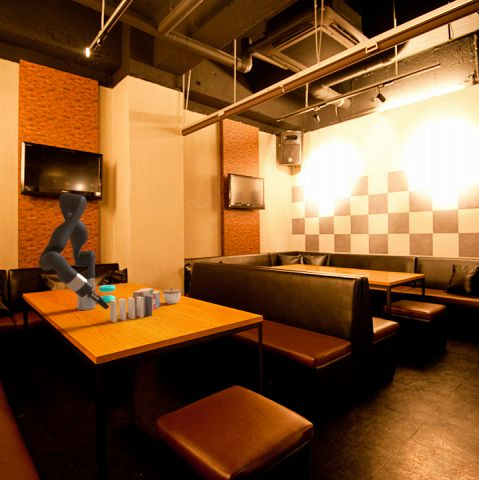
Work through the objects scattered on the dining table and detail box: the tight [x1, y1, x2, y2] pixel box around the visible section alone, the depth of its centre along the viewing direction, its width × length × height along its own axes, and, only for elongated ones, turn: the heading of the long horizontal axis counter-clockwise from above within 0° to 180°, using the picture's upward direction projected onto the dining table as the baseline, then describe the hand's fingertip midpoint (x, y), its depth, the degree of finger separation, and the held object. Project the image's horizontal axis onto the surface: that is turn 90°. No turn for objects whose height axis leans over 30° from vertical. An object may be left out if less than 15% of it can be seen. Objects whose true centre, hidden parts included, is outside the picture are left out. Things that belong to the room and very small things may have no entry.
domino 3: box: [127, 297, 136, 320], centre depth 166 cm, size 5×2×10 cm, turn 39°
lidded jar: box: [162, 287, 181, 305], centre depth 205 cm, size 11×11×9 cm
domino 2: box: [118, 298, 127, 322], centre depth 163 cm, size 5×2×10 cm, turn 39°
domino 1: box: [109, 299, 118, 323], centre depth 160 cm, size 5×2×10 cm, turn 39°
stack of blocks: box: [132, 287, 161, 316], centre depth 183 cm, size 21×6×12 cm, turn 171°
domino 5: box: [144, 295, 153, 317], centre depth 172 cm, size 5×2×10 cm, turn 39°
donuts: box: [98, 284, 116, 304], centre depth 211 cm, size 10×10×10 cm
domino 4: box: [136, 296, 145, 318], centre depth 169 cm, size 5×2×10 cm, turn 39°
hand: (107, 307), depth 159 cm, fingers closed
